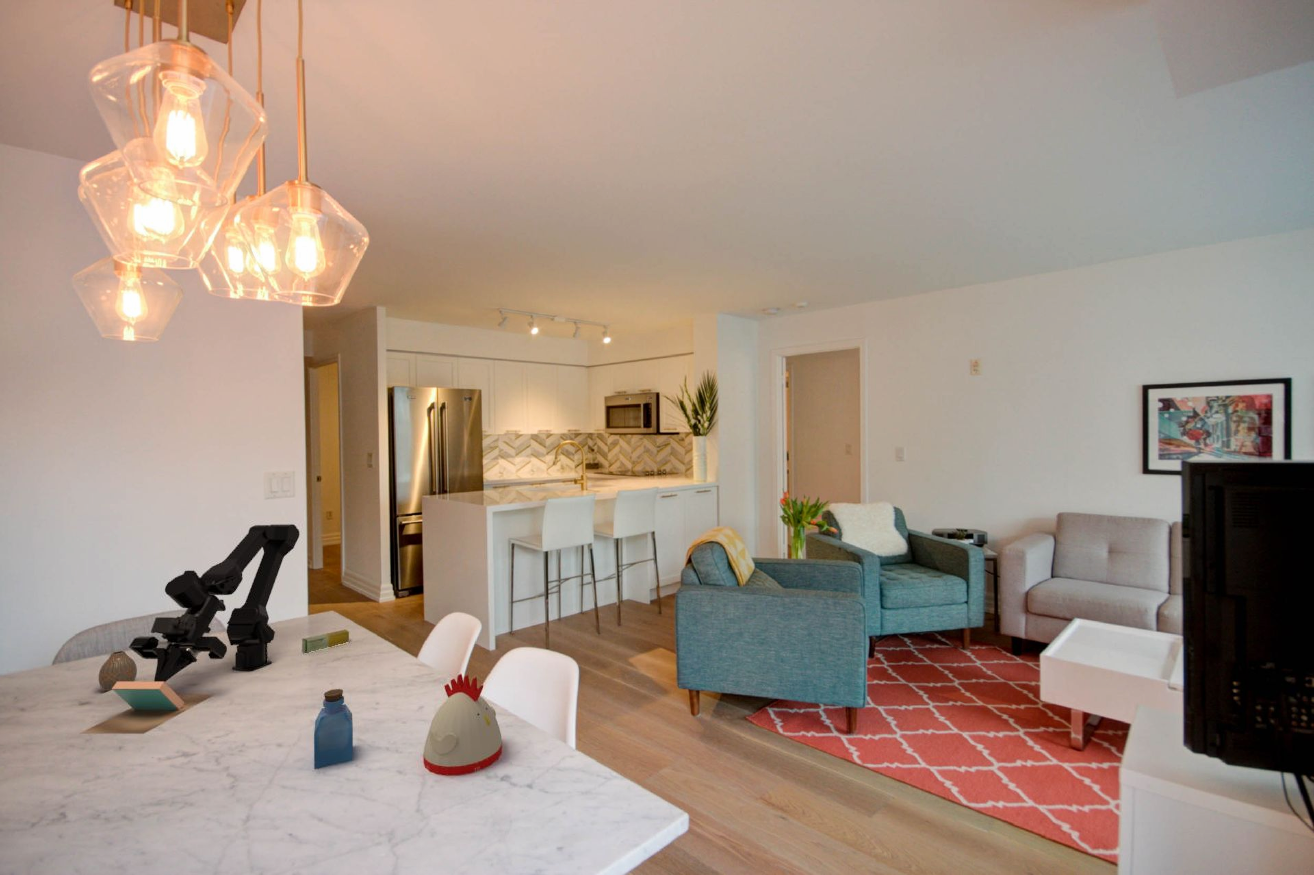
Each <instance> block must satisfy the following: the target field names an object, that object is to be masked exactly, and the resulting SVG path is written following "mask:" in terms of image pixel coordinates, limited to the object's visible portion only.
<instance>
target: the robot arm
mask: <svg viewBox="0 0 1314 875" xmlns="http://www.w3.org/2000/svg"><path fill="white" fill-rule="evenodd" d="M299 538H300V529H299V528H297V526H296V525H295V524H293V523H291V524H290V523H288V524H280V523H279V524H275V523H274V524H255V525H252V526H251V527H250V528H249V530H248V533H247V534H246V535H245V536H244V537H243V538H242V540H241V541H240V542H239V543H238V544H237V545H236V546H235V548H233V550H232V551H231V552H230V553H229V554H228V555H227V557H226V558H225V559H224V560H222V561H221V562H219V563H217V564H215V565H213V566H211V567H210V568H209V569H207V570H206V571H205V572H203V574H202V575H201V577H200V576H199V575H198V573H197V571H195V570H185V571H184V572H183V573H182V574H179V575H177V576H176V577H174V578H172V579H171V580H170V581H168V582H167V584H166V585H165V587H164V592H165V594H166V595H167V596H168V597H169V598H170V599H172V601H173V602H175V603H176V604H177V606H179V607H180V608H182V609H185V612H184V613H183V614H181V616H177V617H170V616H169V617H164V616H163V617H162V616H161V617H160V616H159V617H155V618H154V622H153V624H152V628H151V630H150V633H152V634H155V633H156V634H160V635H161V638H162V639H164V640H159V639H158V638H157V637H155V636H153V635H152V636H149V635H148V636H142V635H141V636H140V635H139V636H137V637H134V638H133V640H132V641H131V642H130V645H129V646H128V648H129V649H130V650H132V651H133V652H134V653H135V654H137V655H138V656H139V657H141V659H143V660H144V659H145V660H157V662H156V669H155V674H154V679H153V680H154V681H153V682H165V683H166V682H167V681H168V680H170V679H171V678H172V677H174V676H175V675H176V674H178V673H179V672H181V671H183V669H185V668H187V667H188V666H189V665H191V664H193V663H196V662H198V659H197V656H199V654H200V653H201V652H206V653H208V654H207V655H208V658H209V659H210V660H223V659H224V658H225V656H226V653H227V652H228V648H227V645H226V644H225V643H224V642H223V641H222V640H221V639H220V638H218V636H217V635H216V636H209V635H207V636H204V635H205V634H210V632H211V630H212V628H211V627H209V626H210V625H211V623H212V621H213V620H214V617H215V616H216V614H217V613H218V612H225V611H226V605H225V601H224V600H225V599H219V598H218V597H217V596H230V595H233V594H234V593H235V592H236V591H237V590H238V588H239V586H240V584H241V583H242V582H243V572H244V570H245V569H246V568H247V567H248V565H249V564H250V563H251V562H252V561H253V560H254V558H255V557H256V556H257V555H258V553H259V552H260V551H261V549H263V550H262V551H263V554H262V557H261V559H260V562H259V565H258V568H257V570H256V573H255V576H254V578H253V581H252V583H251V587H250V589H249V592H248V594H247V596H246V599H245V602H244V603H243V605H242V606H240V607H234V608H233V609H232V611H231V614H230V617H229V620H227V622H226V624H227V627H226V630H225V631H226V634H227V638H228V641H229V644H230V646H236V652H235V659H234V660H235V662H234V663H235V665H233V666H232V667H231V668H232V670H237V671H246V672H252V671H255V670H257V669H260V668H262V667H265V666H269V665H270V664H272V663H273V661H272V660H268V644H270V643H272V641H273V640H274V638H275V634H276V632H275V630H274V629H273V628H272V627H271V626H270V625H269V624H268V623H269V613H268V611H267V605H268V602H269V600H270V597H271V594H272V592H273V588H274V585H275V582H276V580H277V577H278V574H279V571H280V569H281V566H282V563H283V561H284V558H285V556H286V555H288V554H289V553H290V552H291V551H292V550H293V549H294V548H295V546H296V544H297V542H298V540H299Z"/></svg>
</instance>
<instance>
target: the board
mask: <svg viewBox="0 0 1314 875" xmlns="http://www.w3.org/2000/svg"><path fill="white" fill-rule="evenodd" d="M176 694H177V695H178V696H179V697H180V698H181V700H182V701H183V702H184V704H183V706H182V707H181V709H180V710H134V709H133V708H132V707H130V708H128V709H126V710H124V711H123V712H121V713H118V714H116V715H114V716H112V717H110V718H108V719H106V720H104V721H102V722H99V723H98V724H96V725H93V726H91V727H89V728H88V729H86V730H83V731H81V732H80V734H105V735H106V734H107V735H108V734H112V735H113V734H116V735H117V734H119V735H121V734H122V735H123V734H124V735H125V734H131V735H132V734H133V735H134V734H135V735H136V734H138V735H140V734H141V735H142V734H147V733H148V732H149V731H151V730H153V729H155V728H157V727H159V726H160V725H162V724H165V723H166V722H168V721H169V720H172V719H173V718H175V717H178V716H179V715H181V714H183V713H184V712H186V711H188V710H189V709H191V708H194V707H195V706H197V705H199V704H201V703H202V702H204V701H206V700H207V699H210V698H212V697H213V696H215V695H216V694H214V693H213V694H211V693H210V694H209V693H208V694H207V693H206V694H205V693H202V694H201V693H200V694H199V693H197V694H196V693H194V694H193V693H192V694H190V693H185V694H183V693H181V694H180V693H176Z"/></svg>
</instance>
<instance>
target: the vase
mask: <svg viewBox="0 0 1314 875" xmlns="http://www.w3.org/2000/svg"><path fill="white" fill-rule="evenodd" d="M98 672H99V673H98V683H99V684H98V685H99V686H100V687H101V689H102V690H103V691H105V692H107V693H108V692H111V691H113V690H112V688H113V686H114V685H115V684H116V682H135V680H136V678H137V672H138V668H137V664H136V662H135V661H134V659H133V658H132V657H131V656H129V655H128V654H127V653H126V651H125V650H118V651H113V652H111V653H110V656H109V657H108V658H107V659H106V661H104V663H103V665H101V668H100V669H99V671H98Z"/></svg>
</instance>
